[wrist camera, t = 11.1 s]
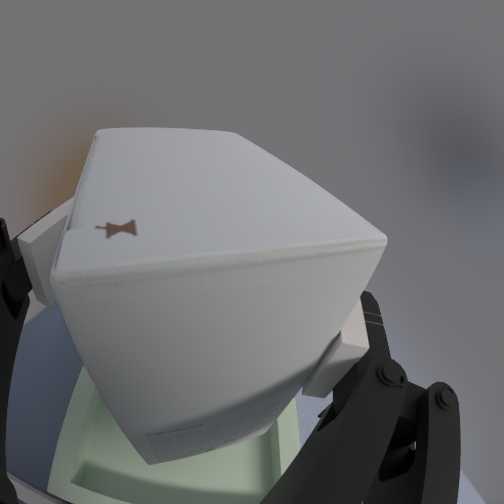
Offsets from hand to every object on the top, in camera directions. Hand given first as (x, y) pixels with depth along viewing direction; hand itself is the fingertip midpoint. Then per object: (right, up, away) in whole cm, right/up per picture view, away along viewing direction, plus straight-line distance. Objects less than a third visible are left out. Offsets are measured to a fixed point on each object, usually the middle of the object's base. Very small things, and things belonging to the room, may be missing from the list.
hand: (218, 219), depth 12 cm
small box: (-2, -8, 0) cm, 8 cm away
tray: (-3, -12, +2) cm, 12 cm away
